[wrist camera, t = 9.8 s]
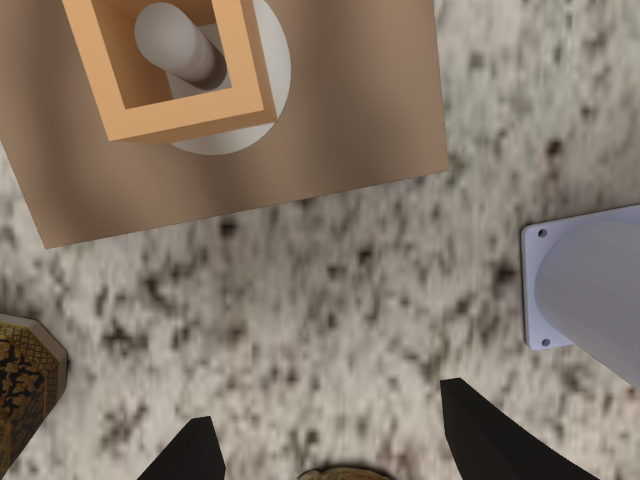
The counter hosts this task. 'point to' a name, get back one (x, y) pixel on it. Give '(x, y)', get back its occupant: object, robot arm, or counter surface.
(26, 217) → the counter surface
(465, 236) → the counter surface
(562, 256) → the robot arm
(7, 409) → the ceramic cup
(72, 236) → the post board
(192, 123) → the collar
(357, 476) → the bread roll
